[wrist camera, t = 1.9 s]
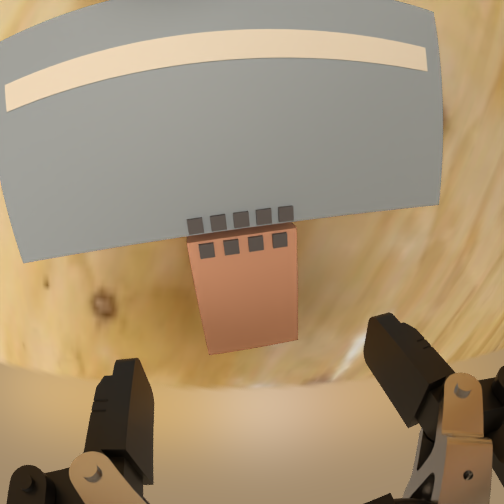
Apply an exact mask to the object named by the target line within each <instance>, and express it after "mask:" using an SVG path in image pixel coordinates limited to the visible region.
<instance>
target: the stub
mask: <svg viewBox="0 0 504 504" xmlns="http://www.w3.org/2000/svg"><path fill="white" fill-rule="evenodd" d="M187 247H188V253H189V258H190V264H191V269H192V275H193V280H194V285H195V290H196V295H197V300H198V305H199V310H200V315H201V320H202V325H203V329H204V334H205V339H206V343H207V348H208V352H209V355H213V354H220V353H227V352H233V351H239V350H245V349H251V348H257V347H262V346H268V345H273V344H278V343H284V342H289V341H294V340H298V272H297V228H296V227H295V226H294V225H293V223H292V222H286V223H278V224H271V225H263V226H256V227H248V228H241V229H234V230H227V231H220V232H213V233H206V234H199V235H192V236H187Z"/></svg>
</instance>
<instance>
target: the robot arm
mask: <svg viewBox="0 0 504 504" xmlns="http://www.w3.org/2000/svg"><path fill="white" fill-rule="evenodd" d="M364 358H365V361H366V364H367V365H368V367H369V368H370V370H371V371H372V373H373V375H374V376H375V378H376V379H377V381H378V382H379V383H380V385H381V387H382V388H383V390H384V391H385V393H386V394H387V396H388V397H389V399H390V401H391V402H392V404H393V405H394V407H395V408H396V410H397V411H398V413H399V415H400V416H401V418H402V419H403V421H404V422H405V424H406V426H407V427H408V428H409V427H412V426H414V425H416V424H418V423H419V424H420V426H421V427H422V428H421V431H420V433H419V440H418V446H417V451H416V456H415V462H414V466H413V471H412V475H411V478H410V481H409V483H408V485H407V487H406V489H405V492H404V495H403V498H400V499H393V497H392V495H391V493H389V494H387V495H384V496H382V497H380V498H377V499H375V500H372V501H370V502H367V503H365V504H489V502H490V492H491V479H492V478H491V477H492V468H493V470H494V471H495V473H496V475H497V476H498V478H499V480H500V481H501V483H502V485H503V487H504V366H503V367H501V368H500V370H499V372H498V373H497V375H496V377H495V378H489V379H484V380H477V379H476V378H475V377H473V376H472V375H470V374H467V373H455V372H454V371H453V370H452V369H451V367H450V366H449V365H448V364H447V363H446V362H445V361H444V359H443V358H442V357H441V356H440V355H439V354H438V353H437V352H436V350H435V349H434V348H433V347H431V345H430V344H429V343H428V342H427V340H424V337H423V336H422V335H421V334H420V333H419V332H418V331H417V330H416V329H415V328H413V327H412V326H410V325H408V324H406V323H400V322H399V321H398V320H397V318H396V317H395V316H394V315H393V314H392V313H385V314H382V315H378V316H374V317H371V318H370V319H369V322H368V328H367V333H366V339H365V345H364ZM153 424H154V398H153V393H152V389H151V386H150V384H149V382H148V379H147V377H146V374H145V372H144V369H143V367H142V365H141V362H140V360H139V359H138V358H132V359H121V360H116V362H115V365H114V370H113V375H111V376H104V377H103V379H102V380H101V382H100V383H99V384H98V386H97V387H96V392H95V396H94V402H93V406H92V413H91V415H90V421H89V426H88V432H87V437H86V443H85V449H84V452H83V453H82V454H80V455H79V456H77V457H76V458H75V459H74V460H73V461H72V463H71V465H70V467H69V468H66V469H62V470H58V471H53V472H48V473H43V472H42V471H41V470H40V469H39V468H37V467H35V466H32V465H24V466H21V467H20V468H18V469H17V470H16V471H15V472H14V473H13V475H12V477H11V480H10V485H9V491H8V498H7V504H150V503H149V502H148V501H147V500H146V499H145V498H144V497H143V485H153Z"/></svg>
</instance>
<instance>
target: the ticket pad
mask: <svg viewBox="0 0 504 504" xmlns="http://www.w3.org/2000/svg"><path fill="white" fill-rule="evenodd" d="M442 152H443V99H442V80H441V66H440V56H439V46H438V38H437V31H436V24H435V18H434V12H432V11H429V10H426V9H423V8H420V7H416V6H413V5H410V4H406V3H403V2H399V1H395V0H109V1H105V2H101V3H98V4H94V5H91V6H88V7H84V8H81V9H78V10H75V11H72V12H69V13H66V14H63V15H60V16H58V17H55V18H52V19H50V20H47V21H45V22H42V23H40V24H37V25H35V26H33V27H30V28H28V29H26V30H23V31H21V32H19V33H17V34H15V35H13V36H11V37H9V38H7V39H5V40H3V41H1V42H0V181H1V186H2V190H3V195H4V199H5V203H6V207H7V211H8V215H9V218H10V222H11V226H12V229H13V232H14V236H15V239H16V242H17V245H18V249H19V252H20V255H21V258H22V260H23V263H28V262H33V261H39V260H44V259H50V258H56V257H61V256H67V255H73V254H79V253H85V252H91V251H97V250H103V249H109V248H115V247H121V246H127V245H133V244H140V243H146V242H153V241H159V240H166V239H172V238H179V237H185V236H192V235H199V234H206V233H213V232H220V231H227V230H234V229H241V228H248V227H256V226H263V225H271V224H278V223H286V222H294V221H301V220H309V219H317V218H325V217H334V216H342V215H350V214H359V213H368V212H376V211H385V210H394V209H404V208H413V207H423V206H433V205H439V198H440V187H441V173H442Z"/></svg>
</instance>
